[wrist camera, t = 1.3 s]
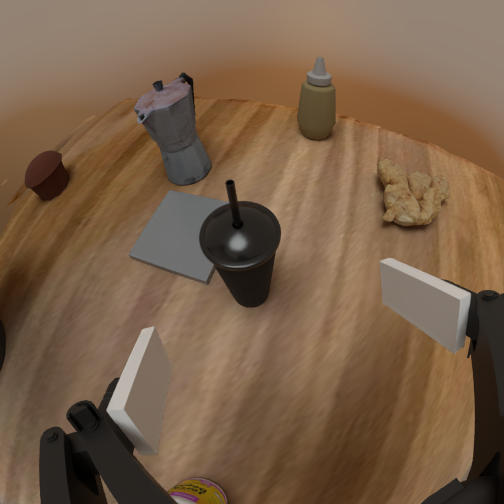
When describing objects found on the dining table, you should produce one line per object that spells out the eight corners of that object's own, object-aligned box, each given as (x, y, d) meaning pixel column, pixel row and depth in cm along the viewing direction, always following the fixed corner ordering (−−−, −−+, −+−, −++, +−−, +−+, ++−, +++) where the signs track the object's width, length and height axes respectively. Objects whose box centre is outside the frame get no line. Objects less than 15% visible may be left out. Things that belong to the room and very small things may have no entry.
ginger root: (353, 213, 41) (370, 170, 35) (373, 175, 51) (385, 141, 45) (436, 258, 36) (461, 221, 31) (438, 210, 46) (455, 178, 40)
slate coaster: (131, 258, 42) (128, 254, 41) (171, 194, 48) (169, 190, 47) (207, 284, 38) (206, 281, 37) (243, 209, 45) (242, 205, 44)
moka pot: (150, 194, 49) (109, 104, 32) (184, 143, 56) (161, 63, 39) (195, 200, 47) (163, 98, 30) (224, 146, 54) (209, 58, 37)
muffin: (69, 165, 59) (52, 137, 50) (78, 181, 54) (58, 151, 46) (36, 193, 55) (17, 167, 46) (41, 213, 50) (19, 185, 42)
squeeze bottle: (311, 147, 52) (317, 66, 37) (289, 129, 56) (289, 54, 41) (341, 137, 54) (351, 62, 38) (318, 120, 58) (322, 50, 42)
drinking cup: (214, 279, 39) (170, 171, 22) (264, 257, 40) (254, 141, 23) (235, 327, 35) (197, 240, 18) (289, 302, 36) (300, 198, 19)
